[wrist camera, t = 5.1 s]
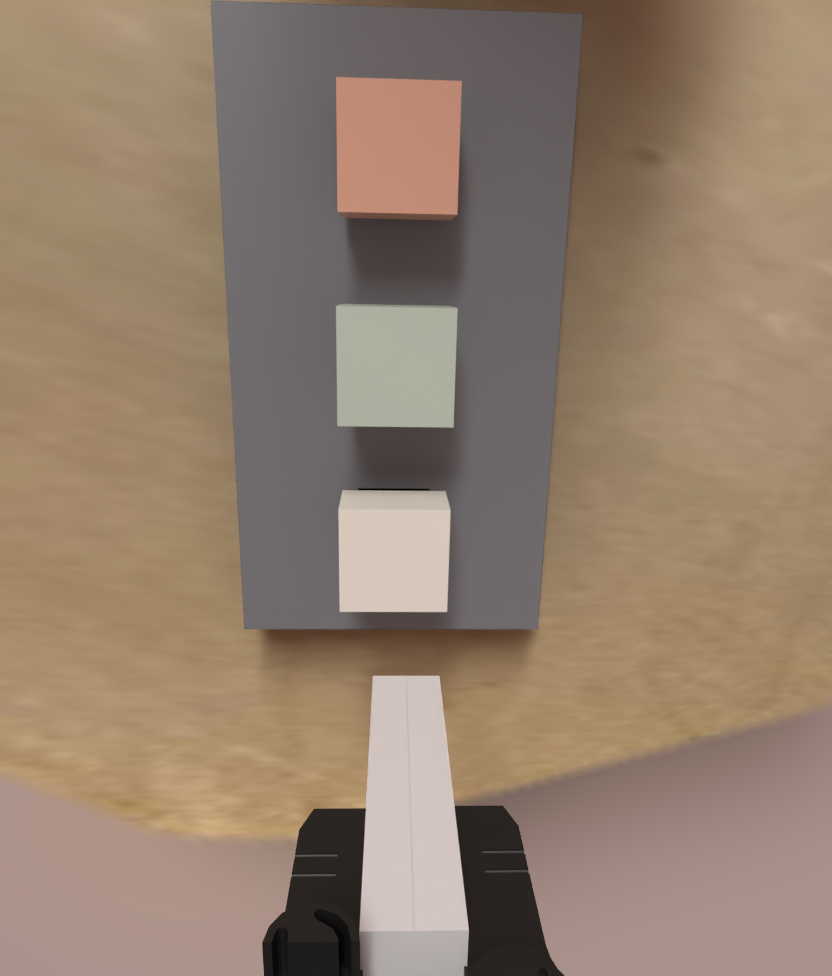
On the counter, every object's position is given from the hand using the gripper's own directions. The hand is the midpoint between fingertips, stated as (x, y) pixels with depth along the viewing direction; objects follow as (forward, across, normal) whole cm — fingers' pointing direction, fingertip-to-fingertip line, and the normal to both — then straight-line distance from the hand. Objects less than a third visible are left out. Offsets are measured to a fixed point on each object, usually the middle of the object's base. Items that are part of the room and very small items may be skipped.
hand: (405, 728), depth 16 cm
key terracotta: (+17, 0, +14) cm, 22 cm away
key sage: (+15, 0, +7) cm, 17 cm away
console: (+17, 0, +7) cm, 19 cm away
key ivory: (+15, 0, 0) cm, 15 cm away
